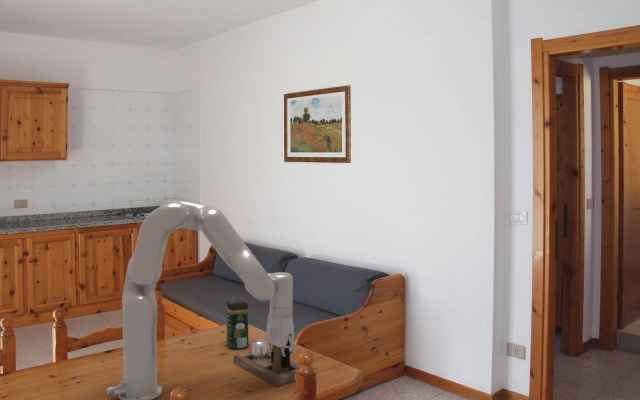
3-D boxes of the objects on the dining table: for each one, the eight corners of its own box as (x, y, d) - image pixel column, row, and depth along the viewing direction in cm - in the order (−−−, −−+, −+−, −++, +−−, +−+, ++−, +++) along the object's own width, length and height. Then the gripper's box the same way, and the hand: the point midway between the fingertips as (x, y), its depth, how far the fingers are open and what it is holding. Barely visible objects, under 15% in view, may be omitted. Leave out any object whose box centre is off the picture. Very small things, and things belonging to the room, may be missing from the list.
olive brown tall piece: (286, 379, 177) (286, 346, 176) (268, 378, 178) (268, 345, 178) (291, 372, 183) (291, 340, 182) (274, 371, 184) (274, 339, 184)
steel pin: (257, 367, 187) (257, 344, 187) (249, 363, 191) (249, 341, 191) (269, 364, 190) (269, 342, 190) (261, 360, 194) (261, 338, 194)
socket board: (276, 386, 171) (276, 378, 171) (233, 362, 192) (233, 355, 192) (308, 377, 179) (308, 369, 179) (263, 355, 200) (263, 348, 200)
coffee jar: (224, 342, 213) (224, 295, 212) (244, 340, 216) (245, 294, 215) (229, 350, 204) (229, 301, 203) (250, 348, 207) (250, 300, 205)
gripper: (257, 306, 183) (256, 360, 185) (286, 318, 170) (286, 375, 171) (275, 303, 188) (275, 355, 189) (305, 314, 175) (305, 370, 176)
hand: (280, 364), depth 180 cm, fingers open, 5 cm apart
